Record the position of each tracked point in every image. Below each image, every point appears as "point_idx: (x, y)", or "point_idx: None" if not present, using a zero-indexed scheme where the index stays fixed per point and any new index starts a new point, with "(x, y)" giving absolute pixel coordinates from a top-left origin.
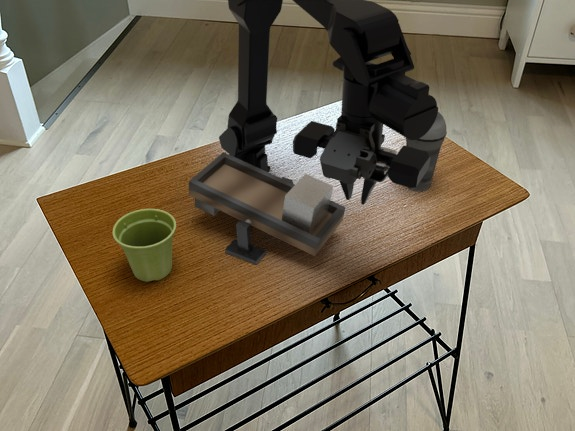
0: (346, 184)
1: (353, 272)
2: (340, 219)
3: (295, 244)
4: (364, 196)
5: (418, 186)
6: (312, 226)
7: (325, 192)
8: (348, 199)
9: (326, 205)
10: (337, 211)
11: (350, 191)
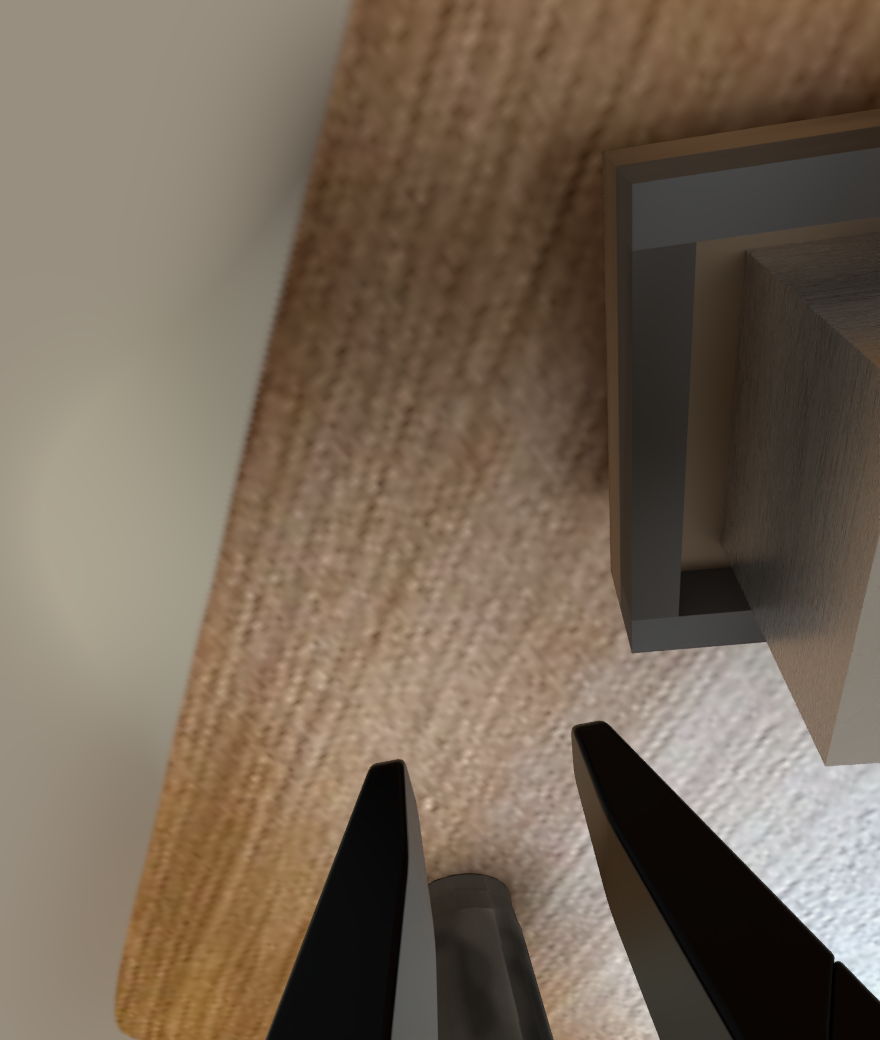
0: (705, 984)
1: (337, 292)
2: (618, 560)
3: (811, 122)
4: (354, 903)
5: (438, 905)
6: (772, 328)
7: (868, 671)
8: (578, 732)
9: (768, 579)
10: (663, 591)
11: (606, 848)
